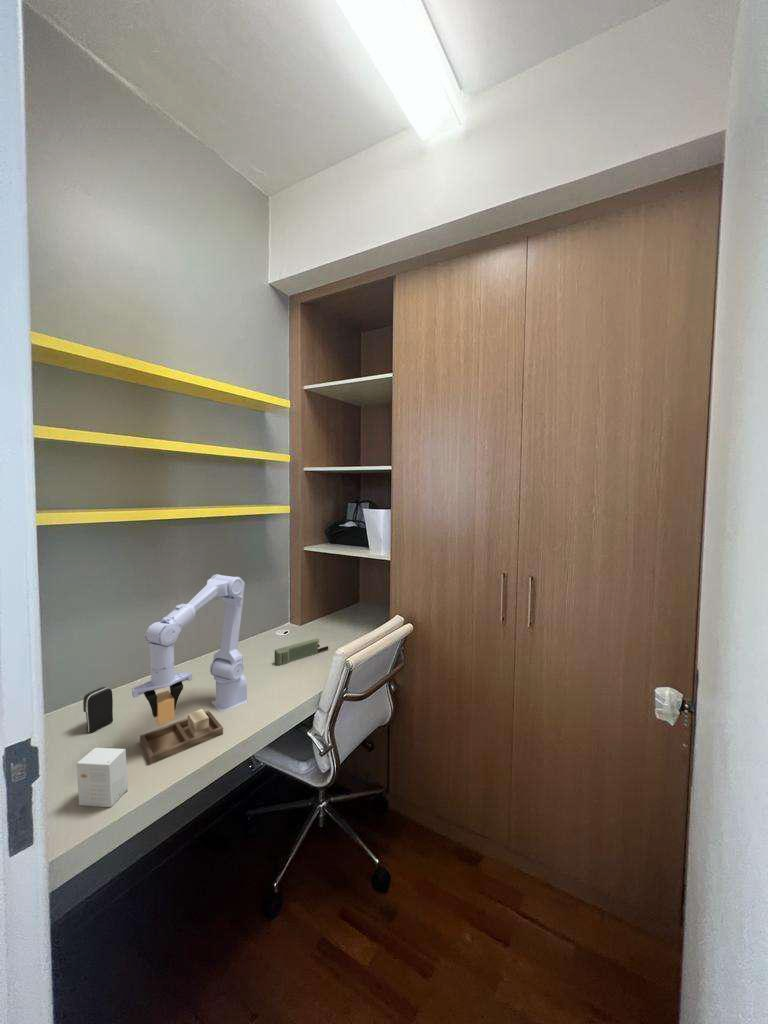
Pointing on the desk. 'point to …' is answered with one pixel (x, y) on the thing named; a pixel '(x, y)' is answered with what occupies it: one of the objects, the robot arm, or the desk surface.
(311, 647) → the handheld radio
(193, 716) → the maple block
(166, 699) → the plug block
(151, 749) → the slot rack
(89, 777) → the small box
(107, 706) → the battery charger
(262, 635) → the desk surface
